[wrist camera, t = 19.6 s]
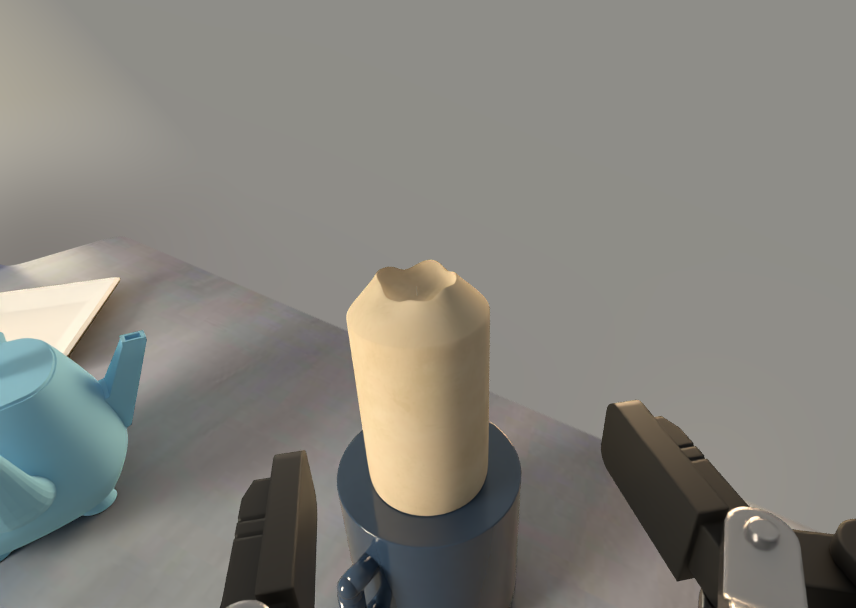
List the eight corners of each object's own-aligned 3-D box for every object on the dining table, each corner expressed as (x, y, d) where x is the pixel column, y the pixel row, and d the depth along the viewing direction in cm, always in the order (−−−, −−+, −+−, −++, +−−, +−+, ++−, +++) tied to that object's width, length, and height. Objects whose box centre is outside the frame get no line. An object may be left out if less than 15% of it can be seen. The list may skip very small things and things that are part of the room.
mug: (422, 483, 33) (414, 385, 29) (543, 553, 28) (553, 448, 24) (296, 617, 26) (264, 511, 22) (430, 741, 21) (419, 633, 17)
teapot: (208, 432, 38) (161, 300, 33) (66, 616, 26) (-44, 458, 21) (35, 417, 41) (-34, 293, 35) (-164, 579, 29) (-315, 431, 23)
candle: (347, 494, 22) (310, 296, 18) (402, 416, 27) (385, 240, 22) (463, 536, 20) (458, 323, 15) (503, 443, 25) (508, 255, 20)
